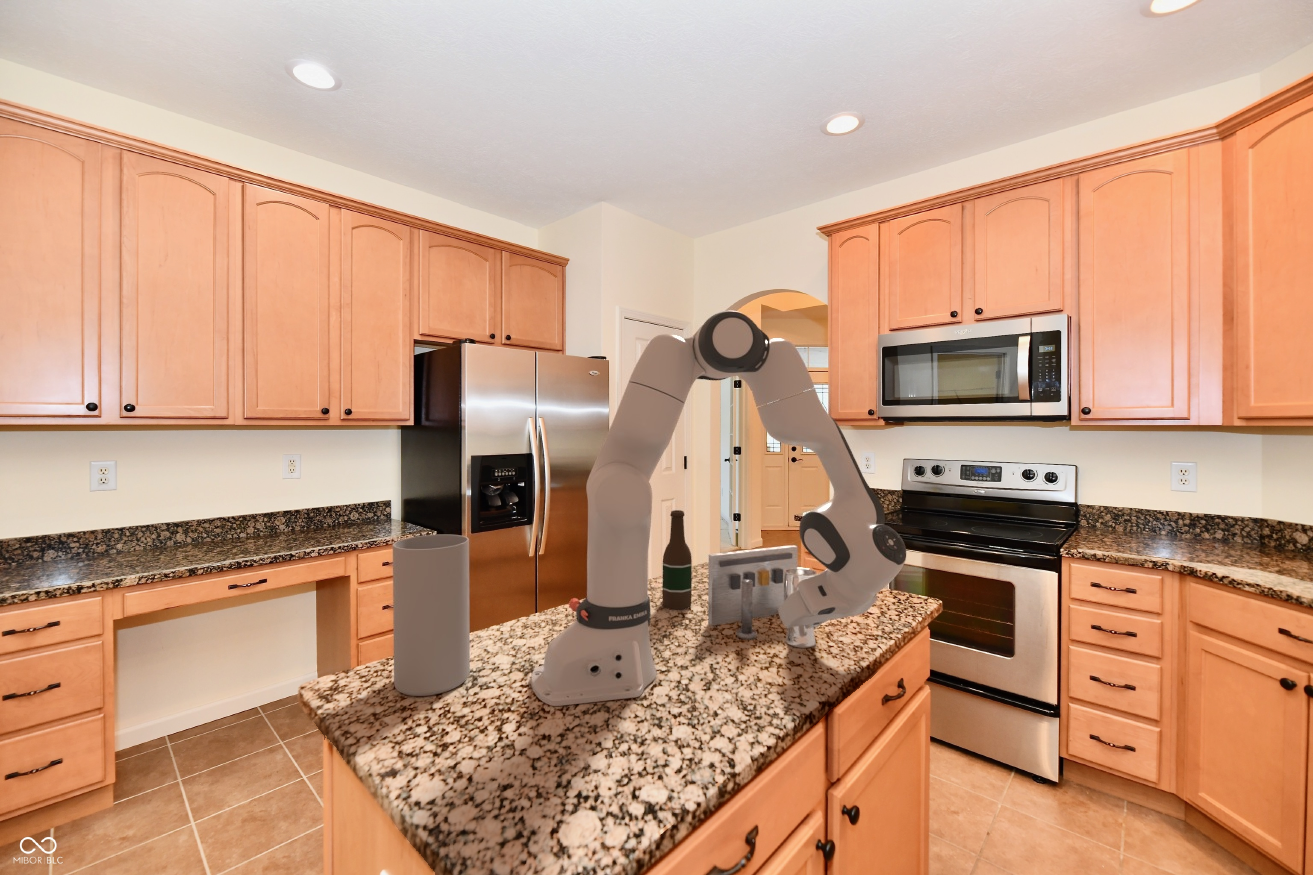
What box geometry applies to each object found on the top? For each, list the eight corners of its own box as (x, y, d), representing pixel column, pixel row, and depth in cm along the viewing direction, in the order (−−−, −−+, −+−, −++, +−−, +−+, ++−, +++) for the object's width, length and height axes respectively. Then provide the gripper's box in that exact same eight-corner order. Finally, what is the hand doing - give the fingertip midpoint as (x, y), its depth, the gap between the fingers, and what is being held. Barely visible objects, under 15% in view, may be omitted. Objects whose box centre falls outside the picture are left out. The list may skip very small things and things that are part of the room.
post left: (743, 640, 116) (744, 584, 116) (732, 633, 120) (732, 579, 120) (761, 637, 118) (761, 582, 118) (749, 630, 122) (749, 577, 122)
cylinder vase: (484, 675, 100) (483, 539, 99) (422, 705, 89) (421, 553, 89) (441, 659, 107) (440, 531, 106) (379, 685, 96) (377, 543, 96)
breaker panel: (713, 627, 124) (714, 556, 124) (708, 623, 127) (708, 554, 126) (799, 612, 134) (800, 547, 134) (792, 609, 136) (793, 545, 136)
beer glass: (804, 651, 111) (805, 577, 110) (776, 641, 116) (776, 570, 116) (824, 643, 115) (824, 571, 115) (796, 633, 121) (796, 565, 120)
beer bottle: (657, 601, 142) (658, 509, 141) (686, 599, 144) (686, 507, 143) (667, 611, 134) (667, 514, 134) (697, 608, 137) (697, 512, 136)
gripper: (876, 569, 110) (842, 603, 119) (792, 581, 101) (762, 617, 111) (894, 597, 106) (857, 631, 115) (808, 612, 97) (775, 647, 107)
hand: (810, 624), depth 113 cm, fingers closed, pressing on beer glass
